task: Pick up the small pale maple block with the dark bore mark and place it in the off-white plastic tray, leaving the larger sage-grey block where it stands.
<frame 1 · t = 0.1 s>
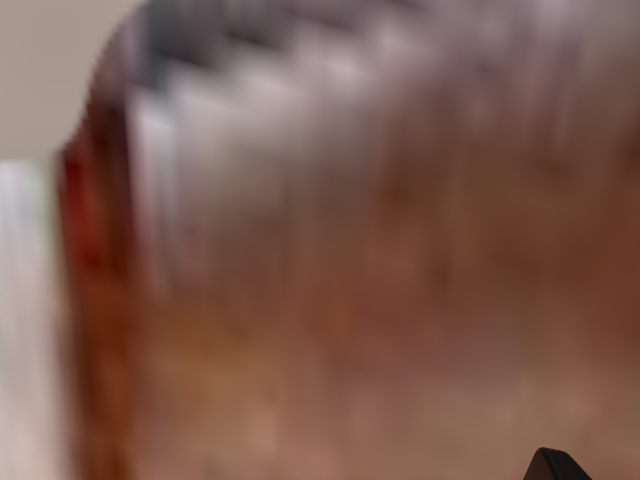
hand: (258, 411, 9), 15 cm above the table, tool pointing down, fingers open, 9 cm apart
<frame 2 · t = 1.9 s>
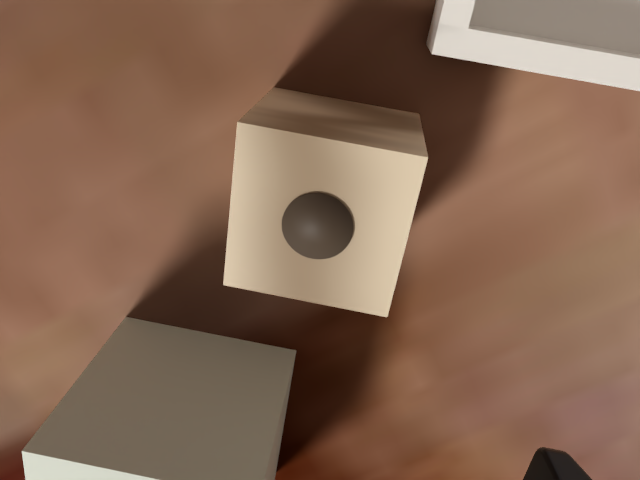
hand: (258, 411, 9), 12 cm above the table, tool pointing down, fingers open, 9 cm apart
maple block: (334, 169, 20), on the table
sage block: (206, 398, 25), on the table
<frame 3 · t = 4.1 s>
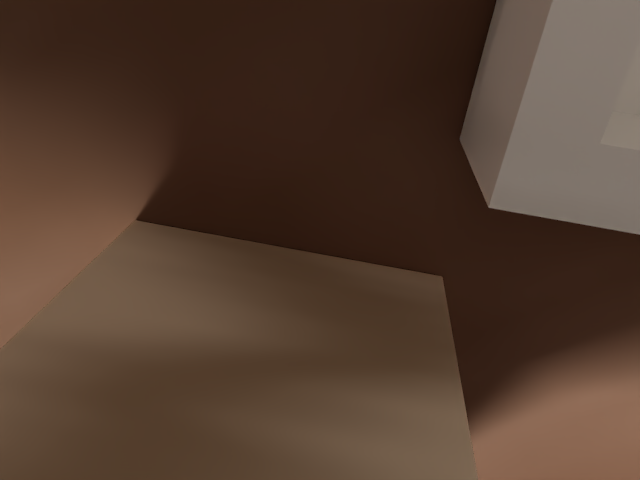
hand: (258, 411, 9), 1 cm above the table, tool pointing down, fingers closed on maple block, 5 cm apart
maple block: (270, 369, 10), on the table, touching gripper
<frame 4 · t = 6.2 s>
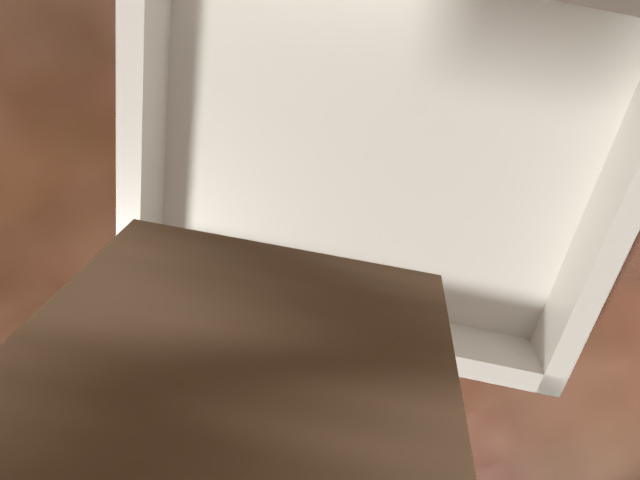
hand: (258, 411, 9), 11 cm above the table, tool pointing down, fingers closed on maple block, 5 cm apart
maple block: (269, 368, 10), point 10 cm above the table, touching gripper
tray: (374, 156, 18), on the table
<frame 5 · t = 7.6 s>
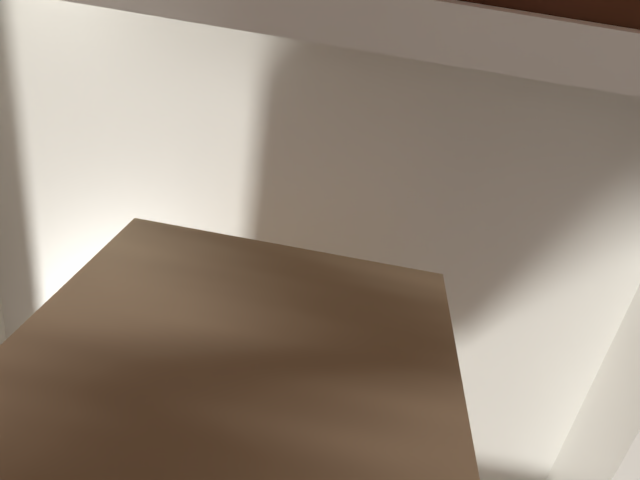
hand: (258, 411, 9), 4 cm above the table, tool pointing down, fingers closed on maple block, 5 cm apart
maple block: (270, 367, 10), point 3 cm above the table, touching gripper
tray: (296, 279, 13), on the table
when the fingers open (3 cm above the table, at t = 8.7 s): maple block drops 1 cm, resting on tray.
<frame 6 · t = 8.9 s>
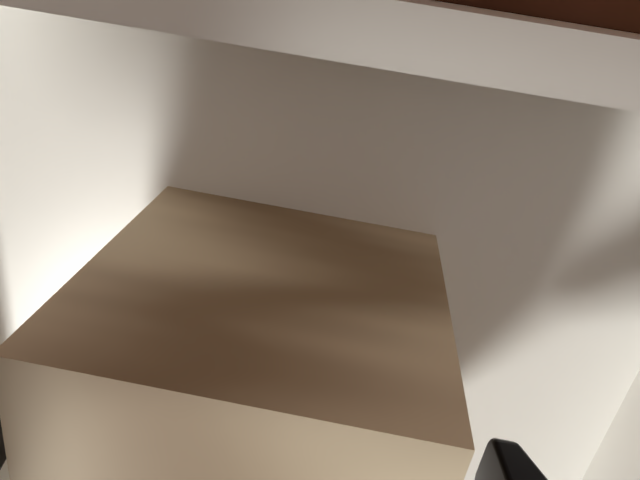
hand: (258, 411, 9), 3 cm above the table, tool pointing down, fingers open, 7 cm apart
maple block: (284, 321, 11), resting on tray
tray: (288, 309, 12), on the table
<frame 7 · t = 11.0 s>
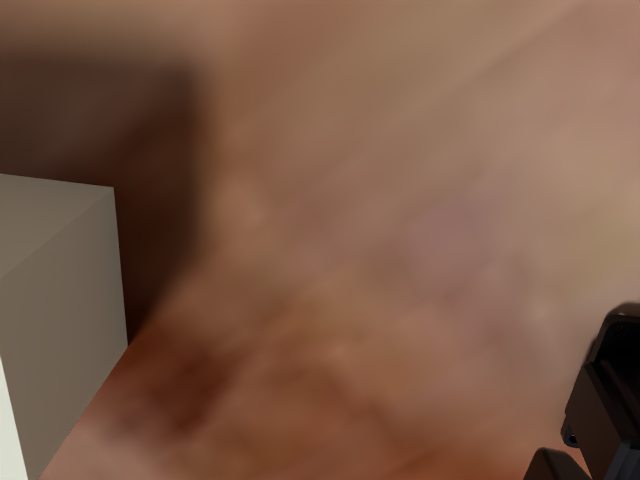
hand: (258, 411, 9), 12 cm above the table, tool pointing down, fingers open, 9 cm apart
sage block: (33, 260, 22), on the table
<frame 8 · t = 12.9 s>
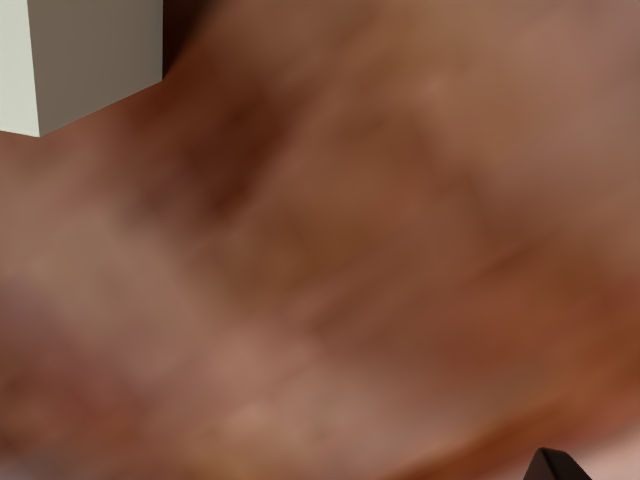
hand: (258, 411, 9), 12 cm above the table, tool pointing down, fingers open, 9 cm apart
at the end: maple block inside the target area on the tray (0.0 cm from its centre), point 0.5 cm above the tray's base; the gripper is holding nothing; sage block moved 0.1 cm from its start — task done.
